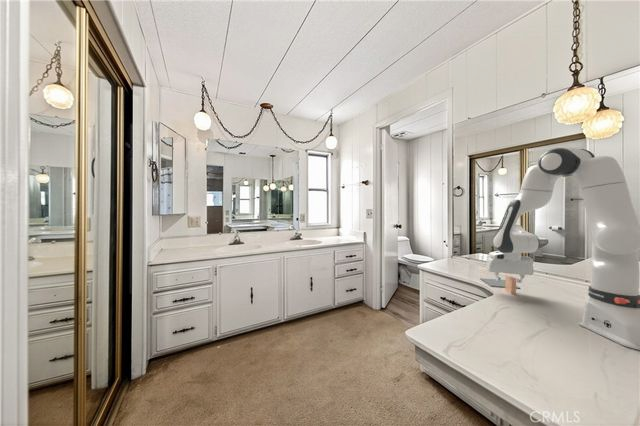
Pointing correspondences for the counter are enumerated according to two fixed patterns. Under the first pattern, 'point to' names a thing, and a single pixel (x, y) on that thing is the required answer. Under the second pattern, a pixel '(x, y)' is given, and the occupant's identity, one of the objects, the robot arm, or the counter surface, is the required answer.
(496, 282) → the mat
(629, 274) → the robot arm
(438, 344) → the counter surface
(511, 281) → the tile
